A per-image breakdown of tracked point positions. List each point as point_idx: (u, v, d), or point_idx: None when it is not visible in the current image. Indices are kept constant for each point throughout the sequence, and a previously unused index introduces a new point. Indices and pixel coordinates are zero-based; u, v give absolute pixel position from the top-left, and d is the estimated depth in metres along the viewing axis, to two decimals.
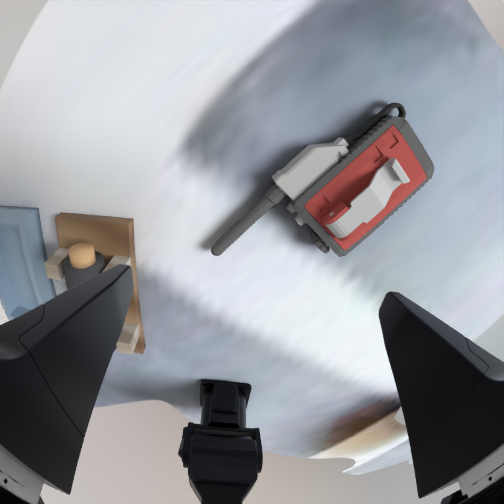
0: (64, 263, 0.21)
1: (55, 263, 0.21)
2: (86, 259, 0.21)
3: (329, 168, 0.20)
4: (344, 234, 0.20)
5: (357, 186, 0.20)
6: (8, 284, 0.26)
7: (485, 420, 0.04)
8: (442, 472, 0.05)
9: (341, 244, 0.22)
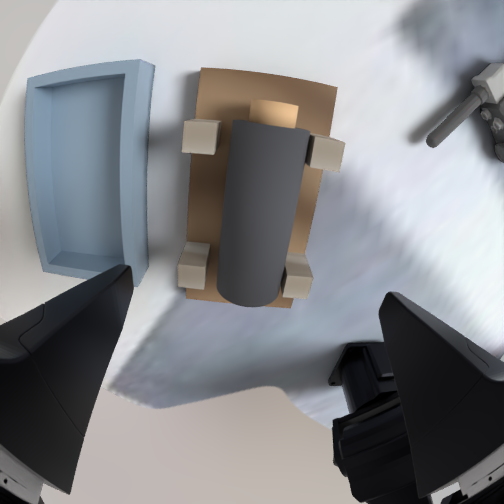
0: (243, 121, 0.13)
1: (210, 122, 0.13)
2: (295, 114, 0.13)
3: None
4: None
5: None
6: (52, 210, 0.18)
7: (485, 420, 0.04)
8: (442, 472, 0.05)
9: None
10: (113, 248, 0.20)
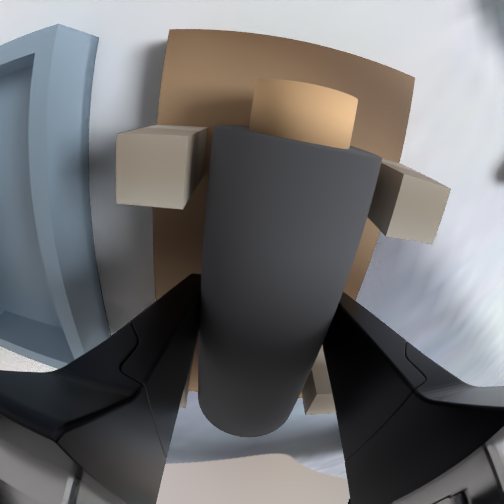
0: (229, 129, 0.06)
1: (173, 134, 0.06)
2: (351, 116, 0.05)
3: None
4: None
5: None
6: None
7: (416, 445, 0.04)
8: (373, 494, 0.05)
9: None
10: None
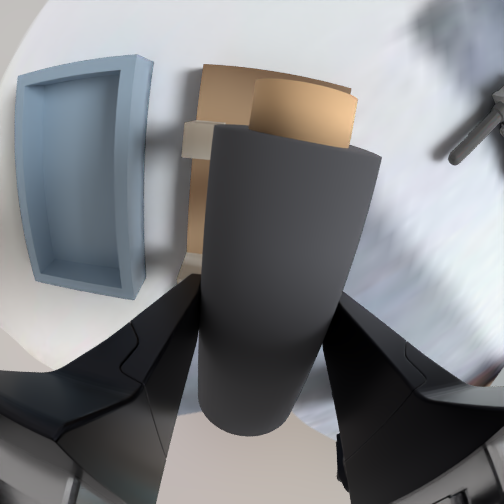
0: (229, 128, 0.06)
1: (213, 124, 0.12)
2: (350, 116, 0.05)
3: None
4: None
5: None
6: (44, 216, 0.16)
7: (416, 445, 0.04)
8: (373, 494, 0.05)
9: None
10: (108, 258, 0.18)
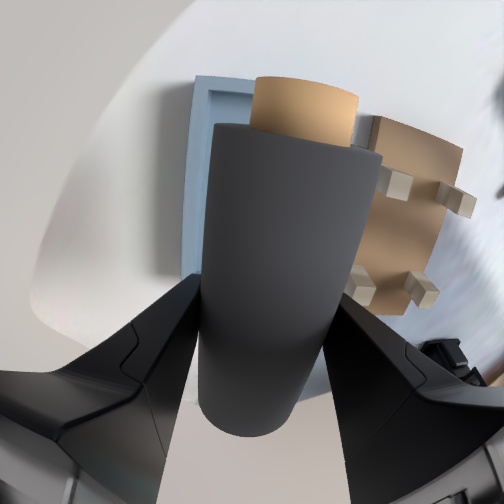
0: (229, 127, 0.05)
1: (406, 174, 0.15)
2: (352, 114, 0.05)
3: None
4: None
5: None
6: (198, 228, 0.20)
7: (416, 446, 0.04)
8: (373, 495, 0.05)
9: None
10: None
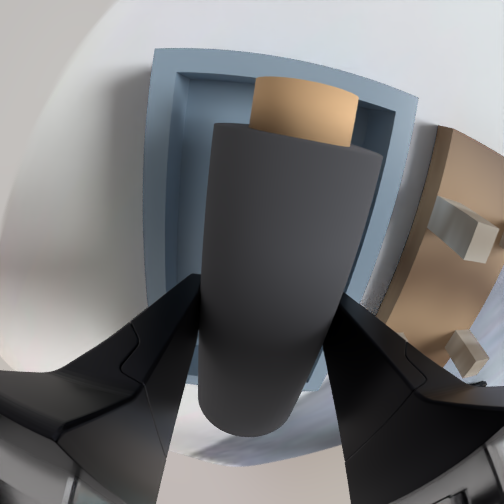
0: (229, 126, 0.05)
1: (490, 224, 0.08)
2: (351, 114, 0.05)
3: None
4: None
5: None
6: None
7: (416, 445, 0.04)
8: (373, 494, 0.05)
9: None
10: None
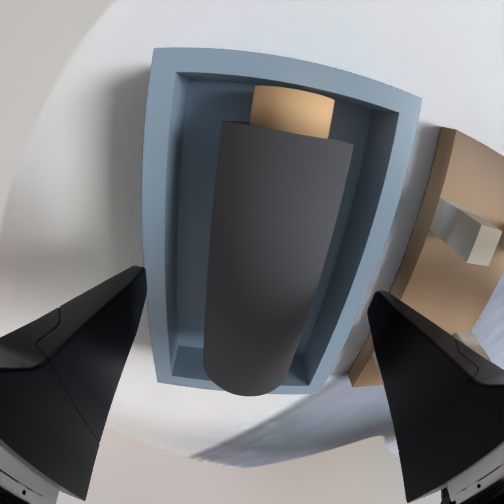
0: (234, 123, 0.07)
1: (493, 226, 0.08)
2: (328, 113, 0.07)
3: None
4: None
5: None
6: (175, 297, 0.13)
7: (474, 425, 0.04)
8: (429, 477, 0.05)
9: None
10: None
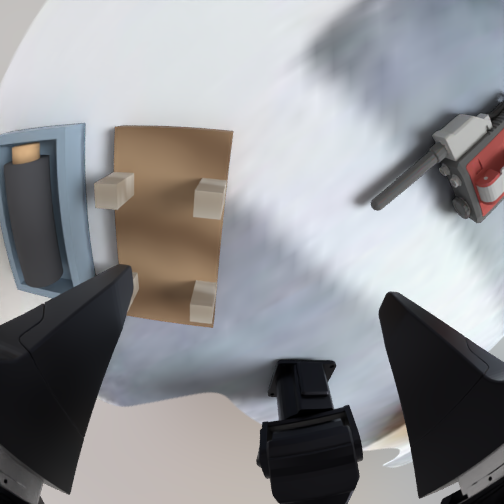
0: (7, 163, 0.14)
1: (113, 183, 0.15)
2: (27, 152, 0.14)
3: (480, 137, 0.16)
4: (493, 198, 0.16)
5: (499, 158, 0.15)
6: None
7: (485, 420, 0.04)
8: (442, 472, 0.05)
9: (483, 210, 0.18)
10: (69, 272, 0.22)
